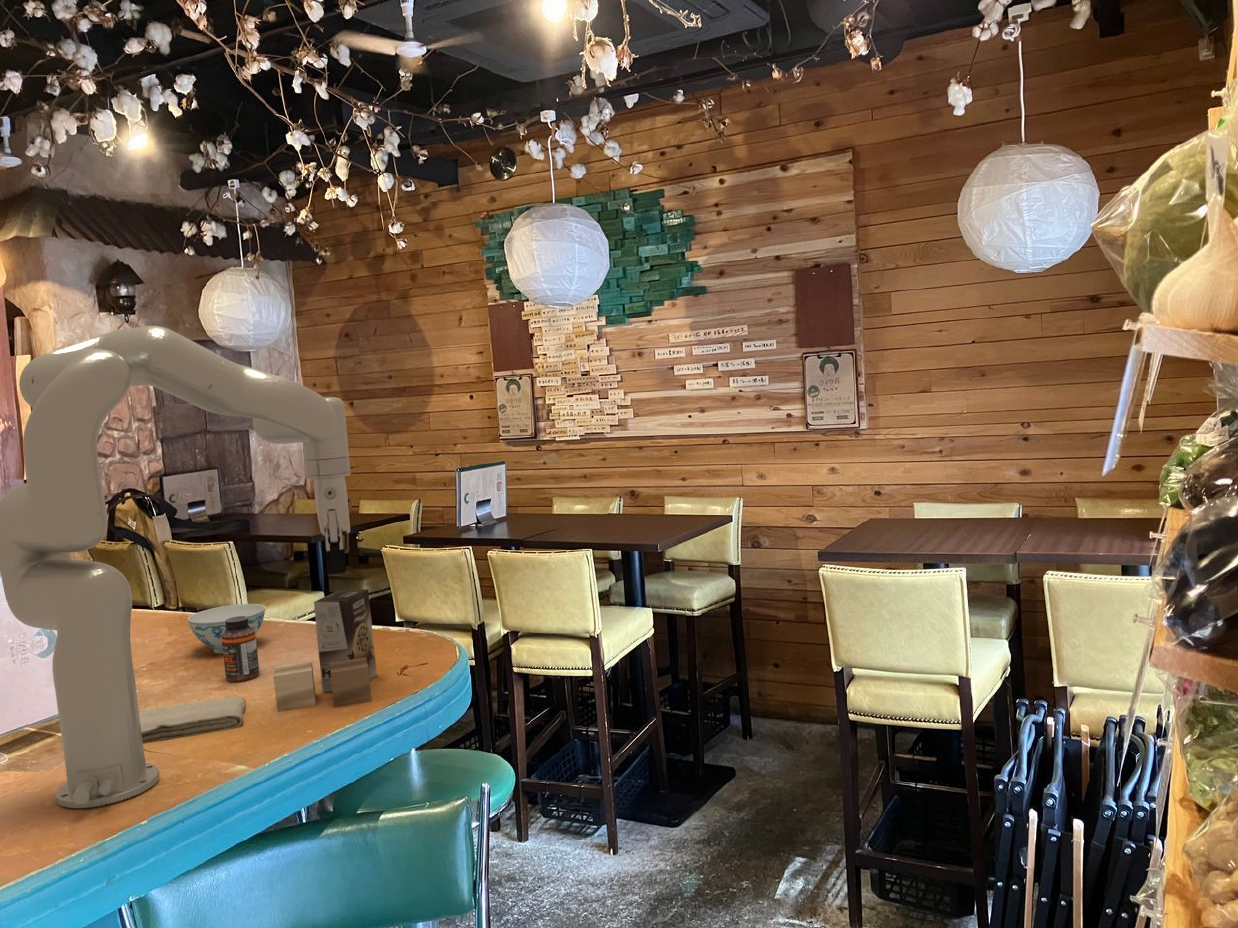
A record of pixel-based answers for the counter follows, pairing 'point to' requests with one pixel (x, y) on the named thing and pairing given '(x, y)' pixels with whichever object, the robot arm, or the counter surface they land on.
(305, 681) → the beech cube
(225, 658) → the supplement bottle
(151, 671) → the counter surface
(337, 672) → the walnut cube
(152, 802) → the counter surface
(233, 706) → the washcloth
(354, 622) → the coffee box
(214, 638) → the chinaware
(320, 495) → the robot arm
